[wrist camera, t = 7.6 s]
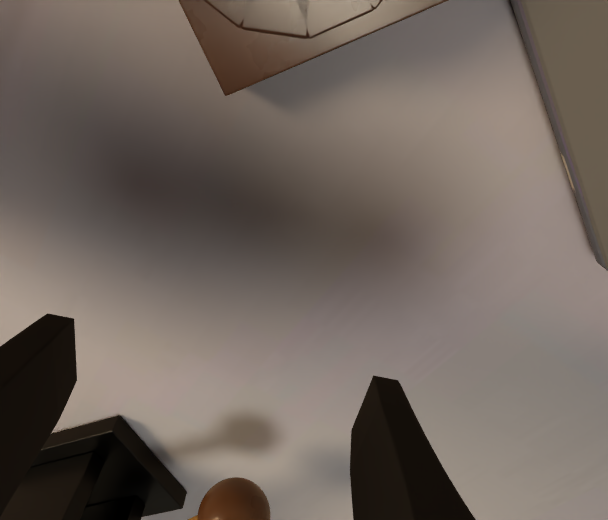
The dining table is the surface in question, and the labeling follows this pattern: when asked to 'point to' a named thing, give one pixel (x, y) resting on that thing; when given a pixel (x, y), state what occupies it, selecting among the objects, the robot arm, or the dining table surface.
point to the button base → (284, 32)
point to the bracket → (95, 478)
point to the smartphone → (575, 97)
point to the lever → (234, 502)
